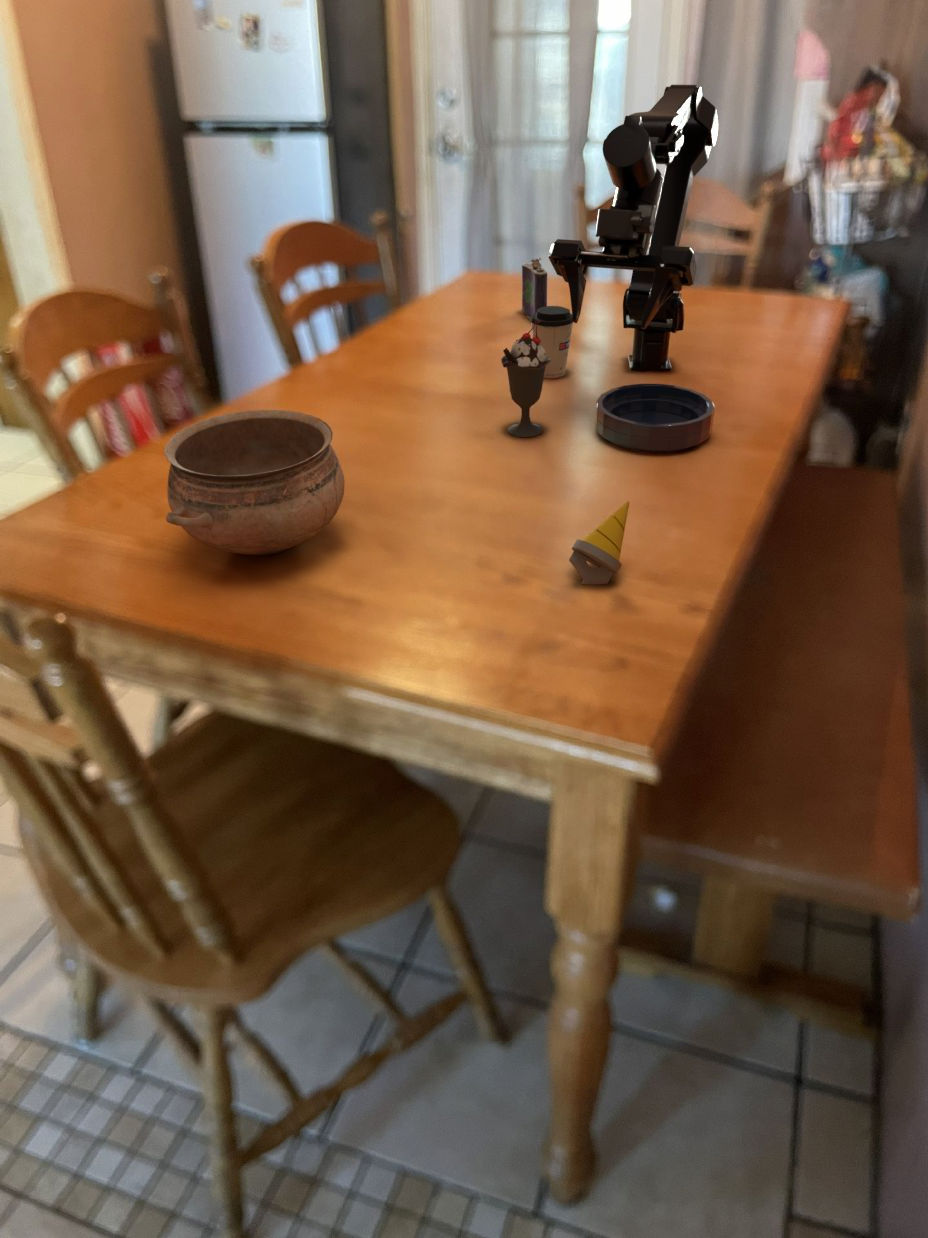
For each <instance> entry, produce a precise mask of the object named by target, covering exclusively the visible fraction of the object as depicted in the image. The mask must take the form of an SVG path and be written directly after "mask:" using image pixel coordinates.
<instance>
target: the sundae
mask: <svg viewBox="0 0 928 1238" xmlns="http://www.w3.org/2000/svg"><path fill="white" fill-rule="evenodd" d="M536 322H537V325H538V323H539V322H540V320H536V321H535V324H536ZM535 324H534V326H535ZM534 326H533V328H534ZM533 328H532V327H531V329H530V330H529V331H528V332H524V333H522V335H521V337H520V338H519V339H516V340H515V341H514V342H513V344H512V345H511V347H510V350H509V349H508V347H505V348H504V349H502V351H503V354H504V355H503V356H502V357H501V365H502V367H503V368H506V372H507V378H508V386H509V392H510V397H511V400H512V401H513V403H515V404H516V405H517V406H518V407H519V408H520V409H521V416H520V421H519V422H518V423H513V424H511V425H510V426H509V427H508V428H507V433H508V434H509V435H511V436H514V437H516V438H533V437H537V436H539V435H542V433H543V432H544V428H543V427H542V426H541V425H540V424H537V423H533V422H532V420H531V416H530V413H531V411H530V410H531V408H532V406H534V405H535V404H536V403H537V402H538V401H539V400H540V399H541V394H542V391H543V384H544V379H545V378H544V373H545V367H546V365H547V364H548V363H549V362H550V361H551V359H550V358H548V357H547V356H546V352H545V350H544V348H543V347H542V346H541V345H539V344H540V342H541V339H540V338H539V337H538V336H537V326H536V337H533V336H532V337H531V334H530V333H532V329H533Z"/></svg>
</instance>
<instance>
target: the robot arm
mask: <svg viewBox="0 0 928 1238" xmlns="http://www.w3.org/2000/svg"><path fill="white" fill-rule="evenodd" d="M718 132H719V119H718V112H717V107H716V106H715V105H714V104H713V103H711V102H710V101H709V100H708V99H707V98H706V97H705V96H704V95H703V90H702V86H698V84H670V85H669V86H665V89H664V92H663V95H662V96H661V97H660V99H658V100H657V102H656V103H655V104H654V105H653V107H651V108H650V110H648V111H642V112H641V111H640V112H634V113H631V114H629V115H625V116H624V120H623V123H622V124H620V125H618V126H616V127H615V128H613V129H612V130H611V131H610V132H609V133H608V134H607V136H606V138H605V139H604V140H603V142H602V154H603V158H604V162H605V164H606V167H607V170H608V174H609V176H610V179H611V183H612V184H613V186H615V187H616V189H615V193H614V198H613V202H612V205H610V207H609V208H599V209H598V212H597V220H596V227H595V235H594V236H595V238H598V245H599V247H600V248H602V251H594V250H593V251H592V250H586V247H585V246H584V243H583V241H582V240H579V239H562V238H557V239H556V240H555V241H554V242H553V243H552V244H551V245H550V248H549V253H548V260H549V262H550V263H551V265H552V267H553V270H554V271H555V273H556V275H557V276H559V277H562V279H563V281H564V282H565V283H567V284H568V288H569V296H570V297H569V298H570V307H571V314H572V317H573V321H574V322H573V324H578V321H579V319H580V316H581V312H582V306H583V301H584V296H585V290H586V286H587V279H586V277H585V274H587V271H588V268H596V269H597V268H600V269H611V270H612V269H613V270H614V269H615V270H625V271H627V270H628V271H632V273H631V278H630V282H629V287H628V288H626V289H625V291H624V293H623V294H624V295H623V299H622V326H623V329H633V340H632V352H631V353H632V354H629V355H627V359H628V360H627V361H628V365H629V371H631V372H632V371H633V372H649V371H650V372H669V371H672V365H671V364H672V363H671V360H670V358H669V348H670V338H671V333H672V334H676V333H677V332H680V331H681V332H682V331H684V325H685V305H684V302H683V298H682V293H681V291H682V290H683V288H684V287H692V286H694V283H695V278H696V274H697V263H696V258H695V252H694V250H693V249H692V248H691V246H680V242H681V238H682V237H681V236H682V233H683V229H684V223H685V221H686V220H685V219H686V216H687V211H688V205H689V200H690V197H691V191H692V187H693V182H694V178H695V177H696V175H698V173H699V172H700V171H701V170H702V169H703V168H704V167H705V165H707V163H708V162H709V157H710V153H711V149H712V147H716V143H717V139H718ZM656 165H664V166H665V170H664V175H662V173H661V170H659V169H658V167H657V166H656Z"/></svg>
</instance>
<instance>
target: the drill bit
mask: <svg viewBox="0 0 928 1238" xmlns="http://www.w3.org/2000/svg"><path fill="white" fill-rule="evenodd" d="M629 508H630V500H629V501H626V502H625V503H624V504H622V505H621V506H620V507H619V508H618V509H617V510H615V511H614V512H612V514H611V515H609V517H607V518H606V519H605V520H603V521H602V522H601V523H600V524H599V525H598V526H596V527H595V529H593V530H592V531H590V532H589V533H588V534H587V535H586V536H584V537H583V538H582V539H576V540H575V541H574V543H573V545H572V547H571V551H573V552H572V553H571V555H570V557H569V559H568V561H569V563H570V564H571V565H572V566H573V568H574V569H575V571H576V572H577V573H578V575H579V576H580V577H581V579H582V581H581V583H580V585H608V583H609V581H610V580H611V578H612V576H613V574H614V575H617V574H618V573H619V571H620V570H621V568H622V566H623V564H622V563H621V561H620V558H621V553H622V547H623V541H624V536H625V529H626V526H627V525H626V524H627V519H628V513H629ZM588 563H589V564H591V565H592V566H595V567H597V568H593V567H591V566H589V564H588Z"/></svg>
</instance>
